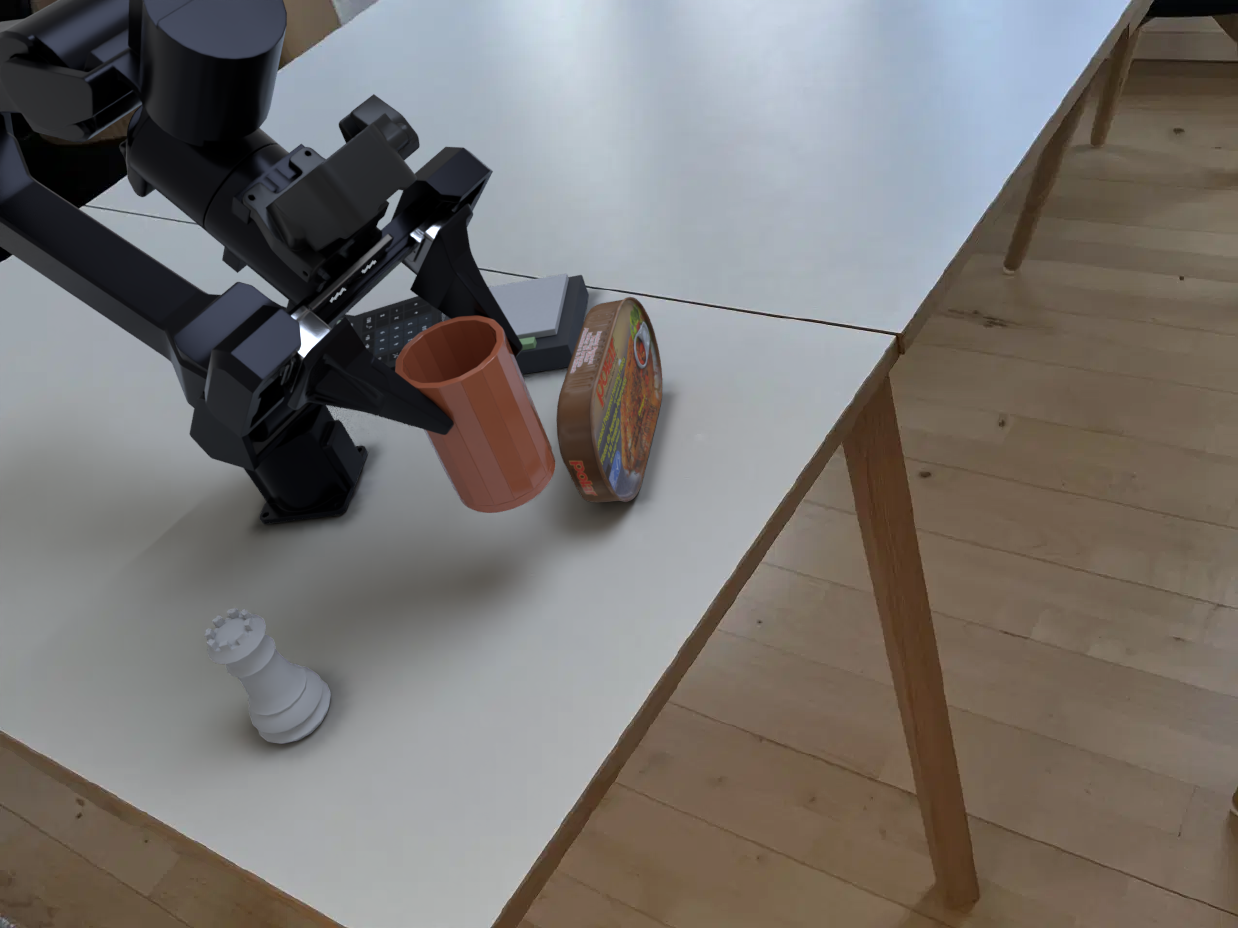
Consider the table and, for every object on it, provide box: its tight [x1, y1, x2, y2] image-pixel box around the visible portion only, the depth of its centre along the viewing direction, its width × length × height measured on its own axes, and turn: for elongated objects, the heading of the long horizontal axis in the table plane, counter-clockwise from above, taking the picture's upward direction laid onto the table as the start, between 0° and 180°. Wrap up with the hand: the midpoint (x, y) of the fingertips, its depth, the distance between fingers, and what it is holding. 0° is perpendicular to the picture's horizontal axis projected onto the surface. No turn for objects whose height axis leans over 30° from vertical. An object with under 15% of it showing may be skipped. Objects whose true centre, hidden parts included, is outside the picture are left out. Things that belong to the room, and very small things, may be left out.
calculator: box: [332, 295, 443, 371], centre depth 86 cm, size 9×12×3 cm
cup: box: [395, 315, 556, 514], centre depth 57 cm, size 6×6×9 cm
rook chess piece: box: [204, 607, 332, 744], centre depth 58 cm, size 4×4×8 cm
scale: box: [443, 273, 590, 375], centre depth 82 cm, size 11×9×3 cm
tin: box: [556, 296, 663, 503], centre depth 67 cm, size 15×3×8 cm, turn 168°
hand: (485, 390), depth 55 cm, fingers closed on cup, 6 cm apart
